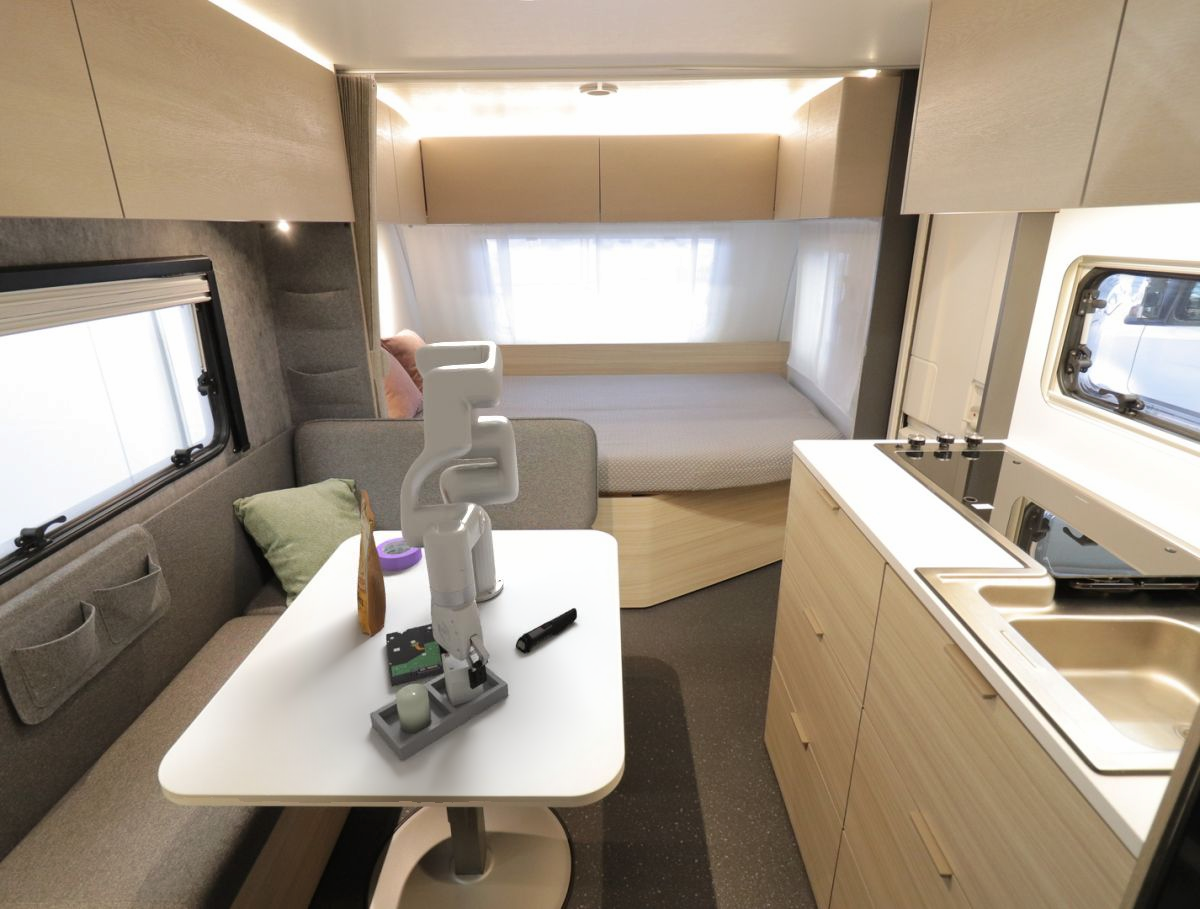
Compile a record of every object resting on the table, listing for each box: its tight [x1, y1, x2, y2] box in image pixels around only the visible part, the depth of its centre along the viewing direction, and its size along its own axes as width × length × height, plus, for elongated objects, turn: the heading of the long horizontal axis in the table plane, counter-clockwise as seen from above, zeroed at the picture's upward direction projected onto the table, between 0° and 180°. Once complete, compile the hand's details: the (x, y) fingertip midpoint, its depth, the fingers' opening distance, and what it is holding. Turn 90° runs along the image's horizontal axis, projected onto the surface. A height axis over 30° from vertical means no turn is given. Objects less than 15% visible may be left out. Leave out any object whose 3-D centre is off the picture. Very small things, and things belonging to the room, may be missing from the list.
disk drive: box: [385, 623, 444, 687], centre depth 122 cm, size 10×3×15 cm
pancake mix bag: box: [356, 488, 387, 638], centre depth 132 cm, size 7×19×28 cm, turn 18°
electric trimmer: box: [515, 607, 578, 654], centre depth 128 cm, size 4×16×3 cm, turn 135°
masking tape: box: [376, 536, 423, 571], centre depth 161 cm, size 12×12×4 cm
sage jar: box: [395, 683, 432, 734], centre depth 104 cm, size 5×5×6 cm
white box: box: [442, 647, 484, 706], centre depth 110 cm, size 6×6×7 cm
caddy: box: [369, 666, 509, 762], centre depth 108 cm, size 21×11×3 cm, turn 134°
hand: (463, 671), depth 110 cm, fingers open, 9 cm apart
